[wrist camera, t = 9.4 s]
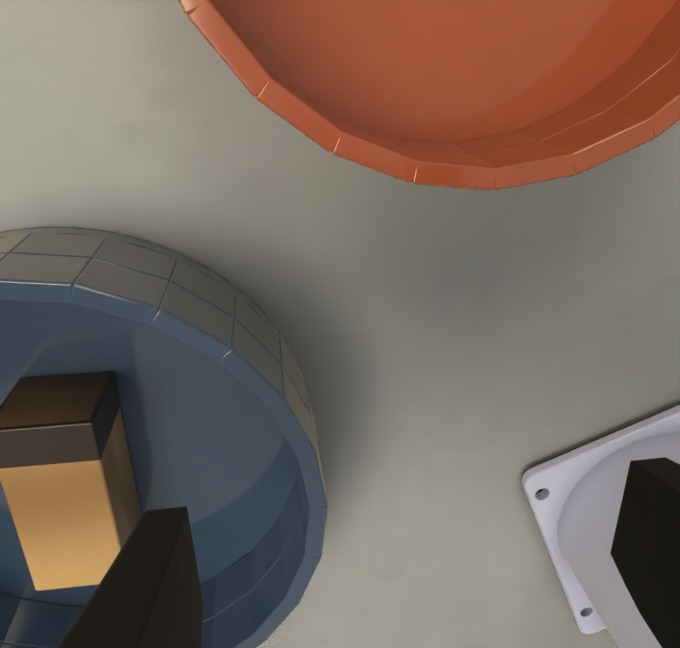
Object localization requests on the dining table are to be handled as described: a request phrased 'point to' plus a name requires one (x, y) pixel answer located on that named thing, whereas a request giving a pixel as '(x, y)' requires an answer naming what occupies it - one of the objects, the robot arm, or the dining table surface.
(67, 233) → the slate bowl
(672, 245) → the dining table surface
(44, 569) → the tan block dark cap
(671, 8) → the terracotta bowl
